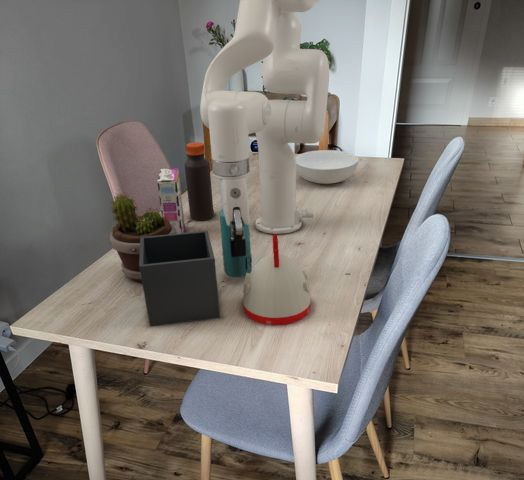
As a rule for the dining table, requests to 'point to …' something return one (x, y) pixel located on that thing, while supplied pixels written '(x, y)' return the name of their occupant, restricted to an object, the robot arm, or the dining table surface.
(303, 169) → the serving bowl
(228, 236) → the beverage bottle
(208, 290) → the waste bin
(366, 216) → the dining table surface
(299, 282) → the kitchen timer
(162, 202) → the candy bar box
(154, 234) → the flowerpot
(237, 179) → the robot arm
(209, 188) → the vinegar
